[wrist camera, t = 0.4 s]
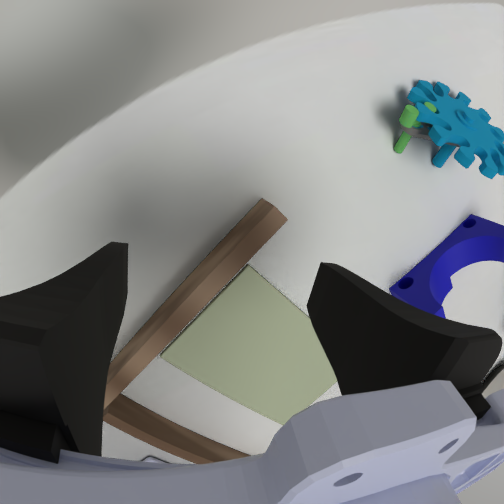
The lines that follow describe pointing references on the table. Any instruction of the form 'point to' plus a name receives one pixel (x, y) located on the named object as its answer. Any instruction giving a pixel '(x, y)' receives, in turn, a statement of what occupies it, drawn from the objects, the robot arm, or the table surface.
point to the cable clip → (450, 263)
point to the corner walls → (169, 325)
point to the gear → (452, 128)
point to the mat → (255, 349)
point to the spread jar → (494, 382)
